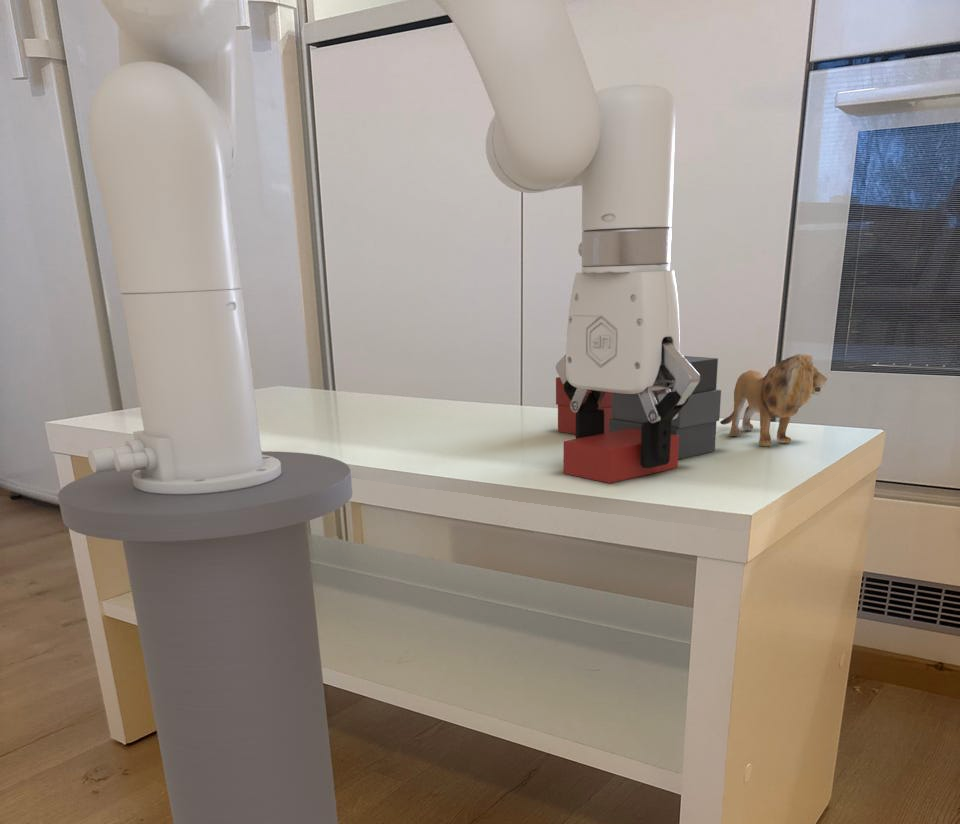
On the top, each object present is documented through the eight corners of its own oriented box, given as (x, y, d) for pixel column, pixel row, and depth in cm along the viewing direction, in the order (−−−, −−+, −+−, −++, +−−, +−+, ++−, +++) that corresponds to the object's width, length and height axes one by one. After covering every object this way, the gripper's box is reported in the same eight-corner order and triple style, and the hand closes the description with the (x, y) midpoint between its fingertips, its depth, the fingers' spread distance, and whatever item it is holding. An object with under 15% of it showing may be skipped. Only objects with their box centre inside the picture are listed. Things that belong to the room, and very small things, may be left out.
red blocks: (650, 426, 109) (652, 373, 107) (593, 437, 104) (594, 381, 102) (611, 421, 114) (612, 369, 111) (555, 431, 108) (555, 377, 106)
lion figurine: (827, 447, 95) (837, 354, 91) (783, 452, 93) (791, 357, 89) (739, 426, 107) (745, 343, 104) (699, 430, 106) (703, 346, 102)
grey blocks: (675, 460, 91) (679, 364, 88) (606, 448, 98) (607, 358, 94) (717, 451, 95) (723, 358, 91) (648, 440, 101) (651, 352, 98)
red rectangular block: (677, 467, 88) (679, 435, 87) (609, 483, 83) (610, 449, 82) (630, 459, 92) (631, 428, 91) (563, 473, 87) (563, 441, 86)
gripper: (525, 257, 85) (528, 453, 92) (675, 252, 72) (666, 480, 79) (585, 255, 89) (584, 442, 96) (737, 249, 76) (723, 466, 83)
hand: (621, 458), depth 87 cm, fingers open, 7 cm apart
